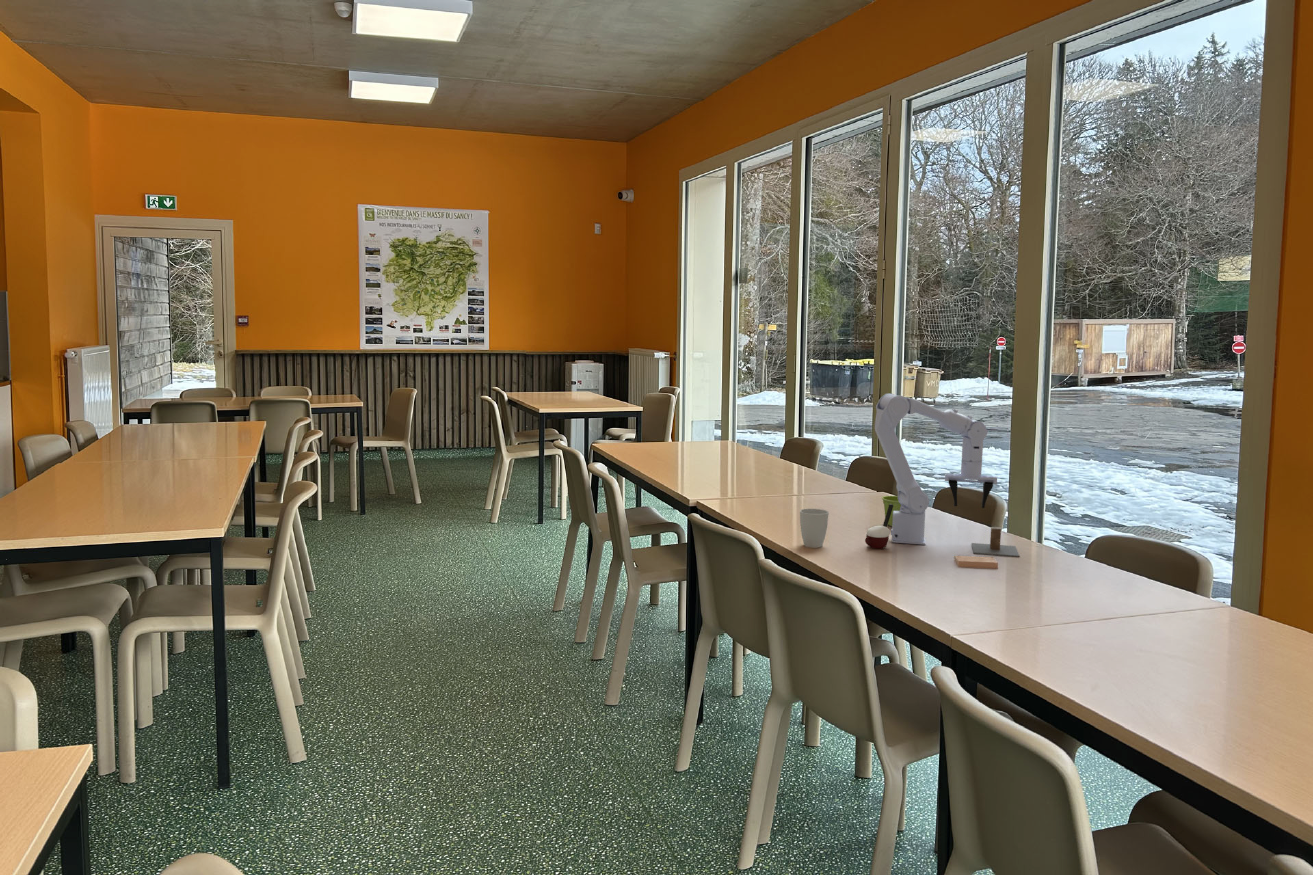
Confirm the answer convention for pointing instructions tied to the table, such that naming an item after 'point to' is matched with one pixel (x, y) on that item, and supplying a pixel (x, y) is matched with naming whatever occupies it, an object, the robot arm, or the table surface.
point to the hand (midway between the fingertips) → (969, 506)
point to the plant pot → (896, 506)
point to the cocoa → (879, 533)
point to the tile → (975, 562)
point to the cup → (813, 526)
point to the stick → (995, 538)
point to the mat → (1003, 550)
